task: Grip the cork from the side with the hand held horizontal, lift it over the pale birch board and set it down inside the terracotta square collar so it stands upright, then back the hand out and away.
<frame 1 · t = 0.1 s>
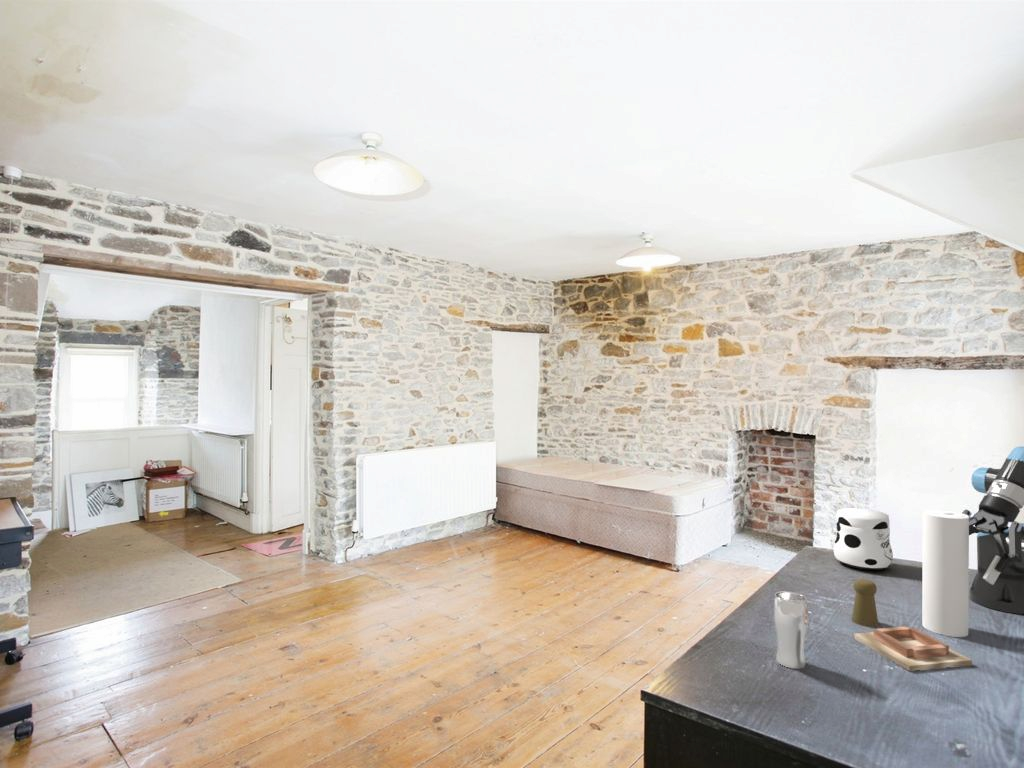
hand: (961, 572, 143), 15 cm above the table, tool tilted 35°, fingers open, 13 cm apart
cylinder container: (944, 629, 145), on the table
cork: (864, 622, 149), on the table
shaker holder: (910, 651, 133), on the table
beer glass: (790, 663, 128), on the table
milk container: (862, 566, 194), on the table
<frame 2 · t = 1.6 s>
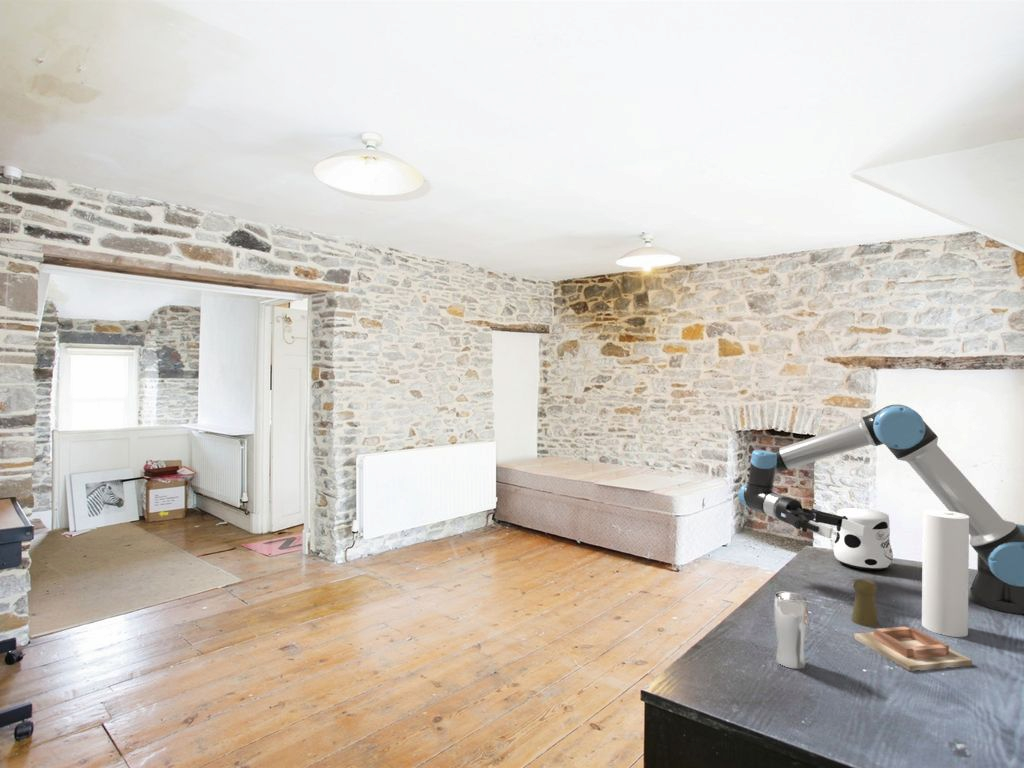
hand: (848, 532, 155), 22 cm above the table, tool horizontal, fingers open, 13 cm apart
nothing on the table moved.
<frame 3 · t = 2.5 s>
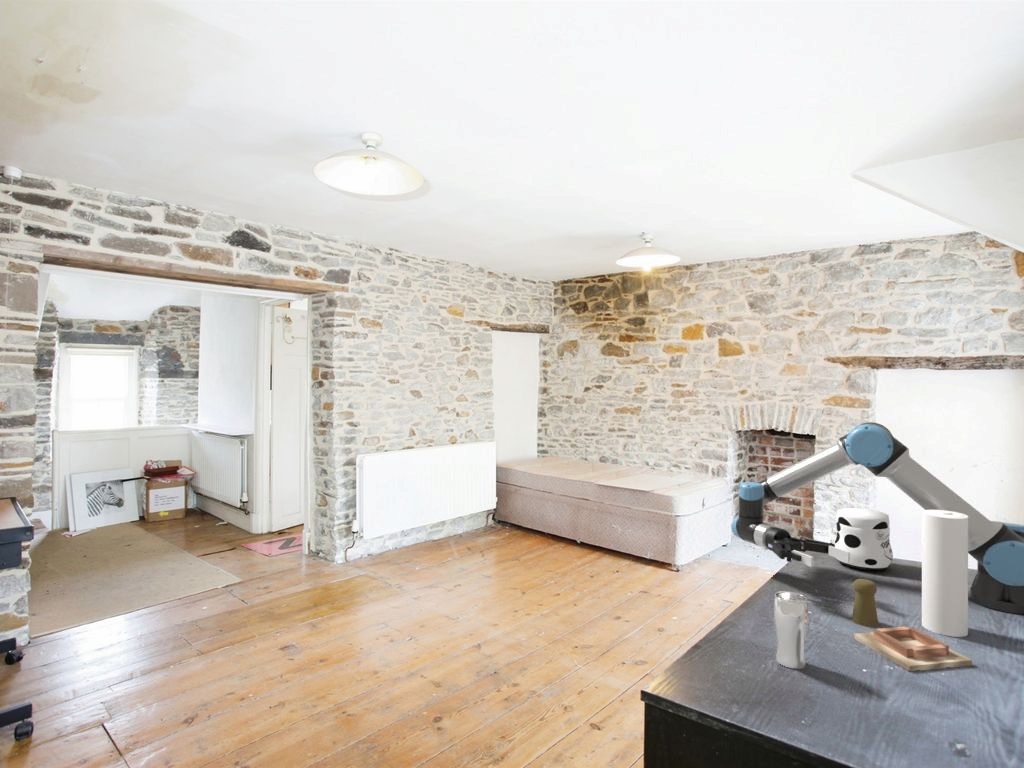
hand: (831, 559, 159), 13 cm above the table, tool horizontal, fingers open, 13 cm apart
nothing on the table moved.
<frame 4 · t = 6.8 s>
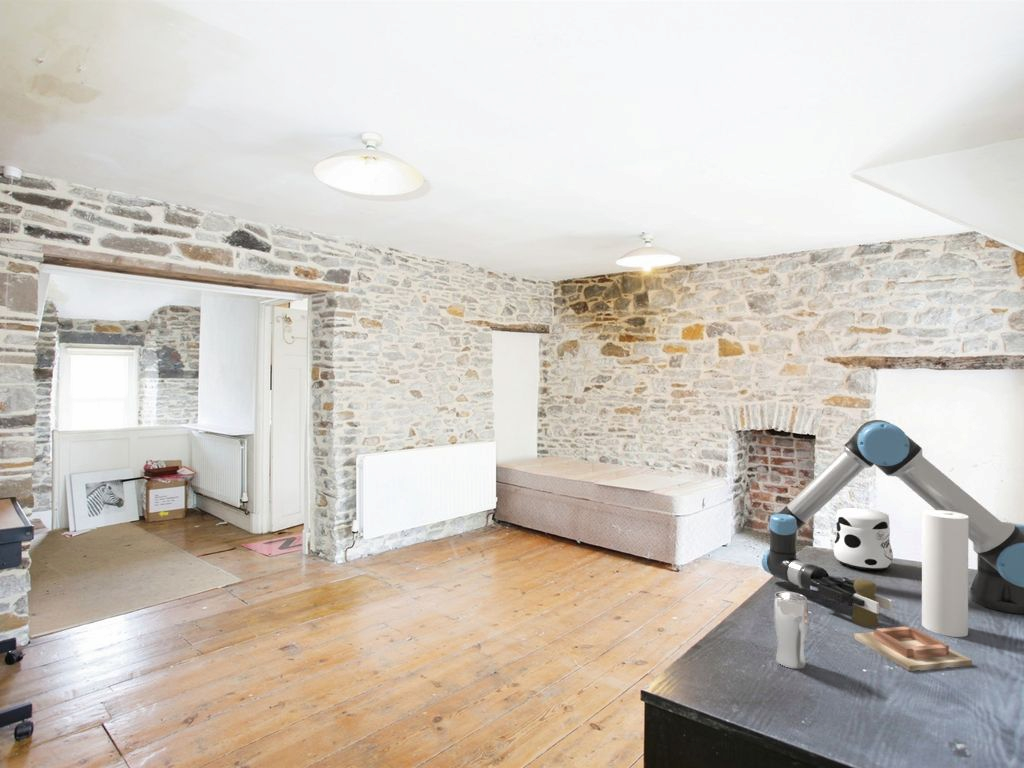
hand: (884, 606, 144), 6 cm above the table, tool horizontal, fingers closed on cork, 4 cm apart
cork: (864, 622, 149), on the table, touching gripper
everything else where it was.
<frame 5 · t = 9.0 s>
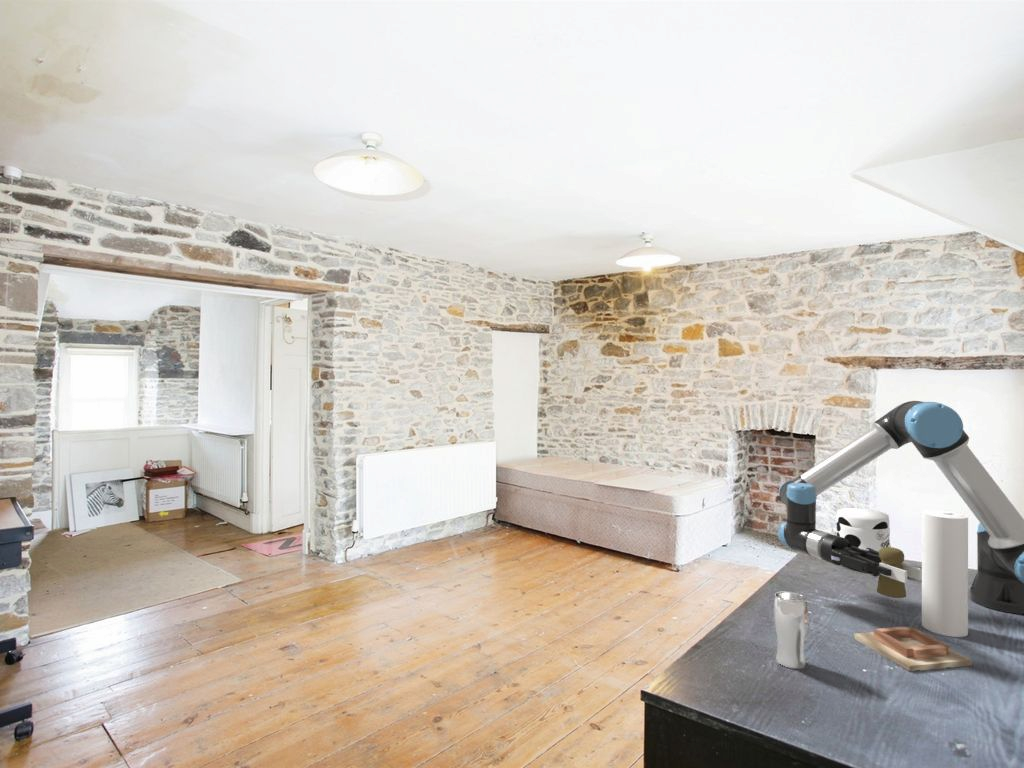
hand: (913, 575, 133), 18 cm above the table, tool horizontal, fingers closed on cork, 4 cm apart
cork: (891, 594, 138), point 12 cm above the table, touching gripper
everything else where it was.
when the fingers open (9 cm above the table, at t = 11.5 s): cork moves 1 cm, resting on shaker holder.
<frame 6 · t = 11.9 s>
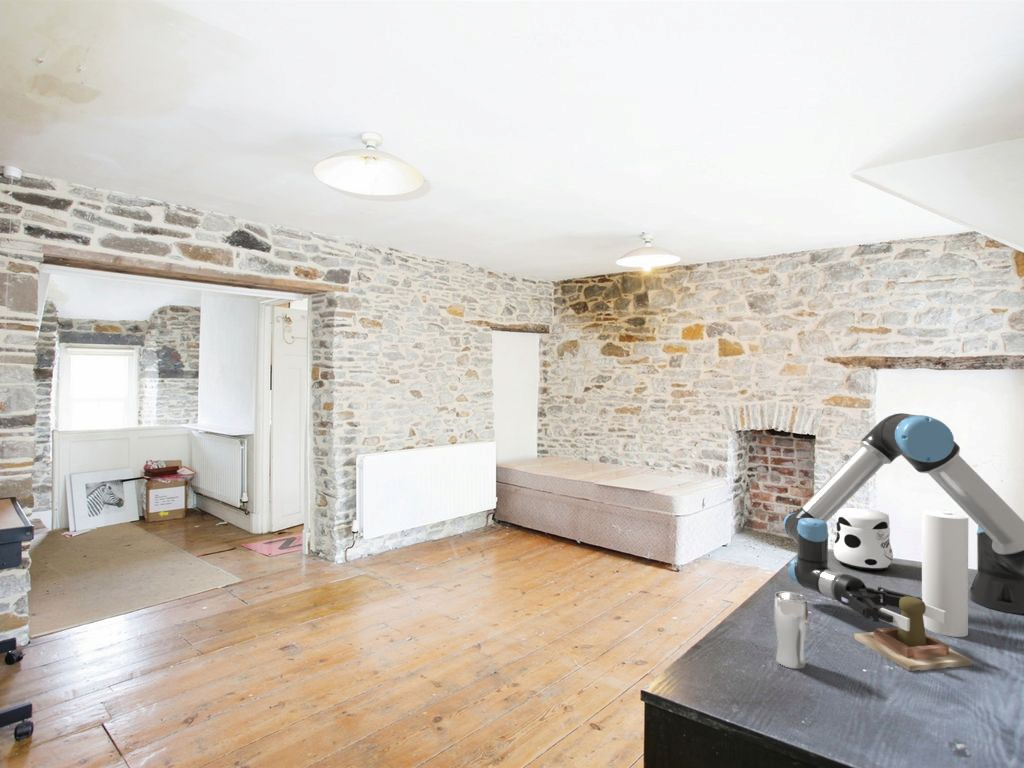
hand: (927, 621, 129), 9 cm above the table, tool horizontal, fingers open, 11 cm apart
cork: (911, 645, 134), point 1 cm above the table, touching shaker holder
everything else where it was.
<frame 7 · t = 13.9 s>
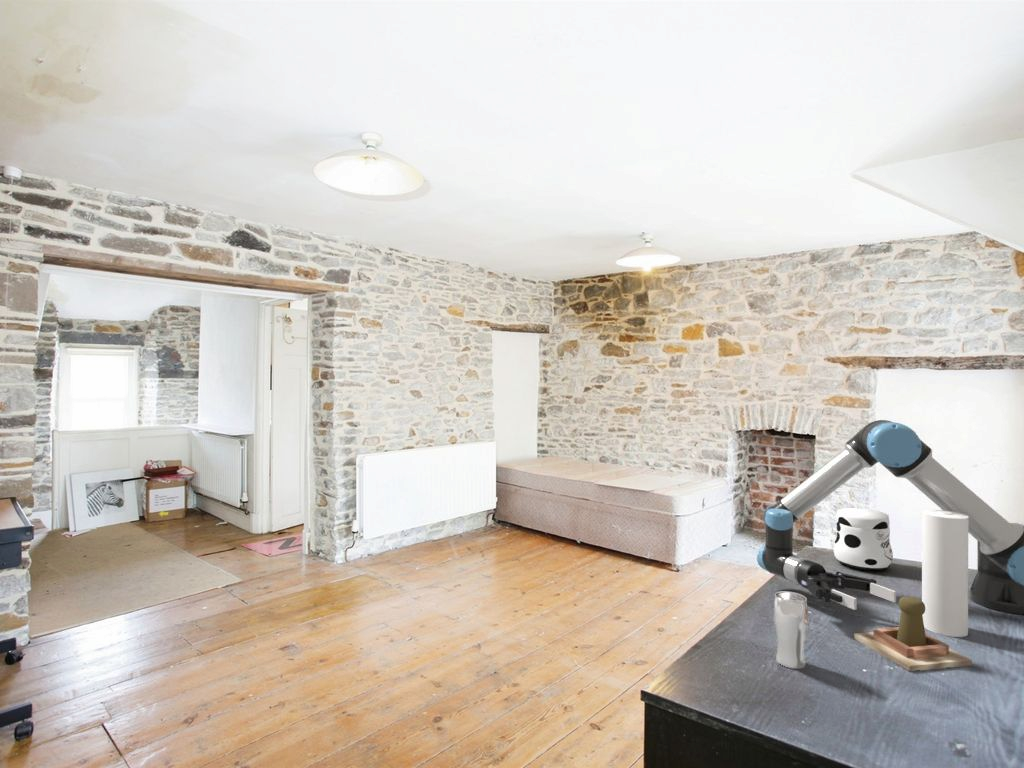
hand: (875, 600, 141), 9 cm above the table, tool horizontal, fingers open, 13 cm apart
nothing on the table moved.
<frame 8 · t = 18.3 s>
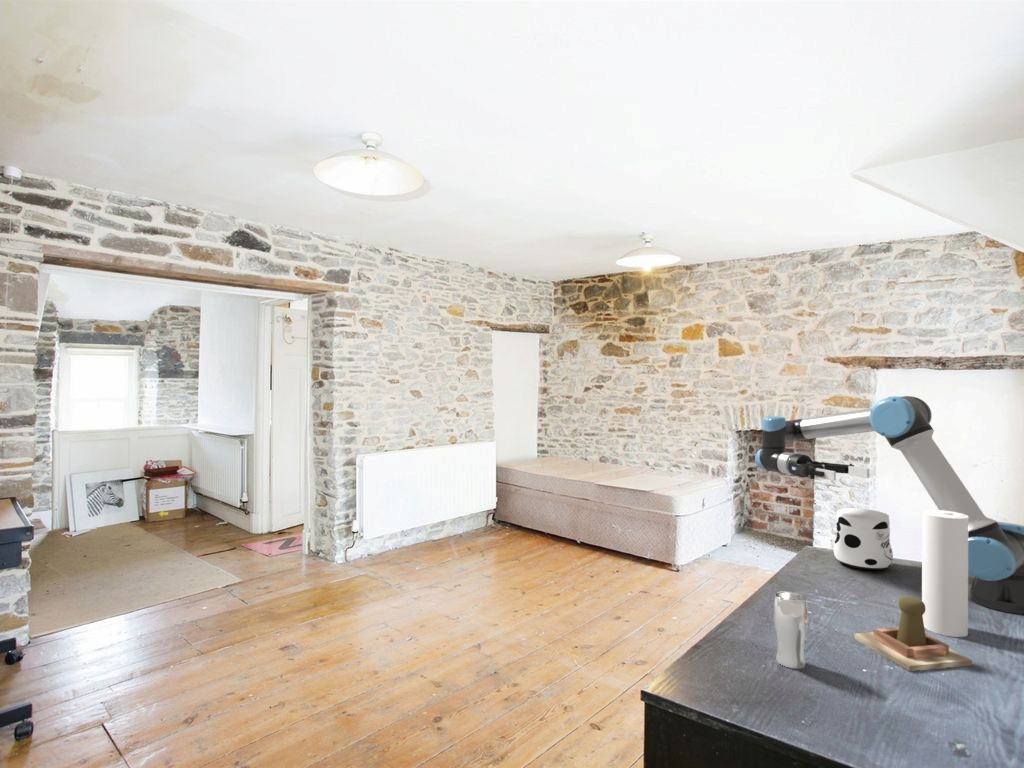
hand: (851, 474, 172), 35 cm above the table, tool horizontal, fingers open, 13 cm apart
nothing on the table moved.
at the end: cork 1.0 cm off-centre on the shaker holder, point 1.0 cm above the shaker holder's base; cork tilted 0°; the gripper is holding nothing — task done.
